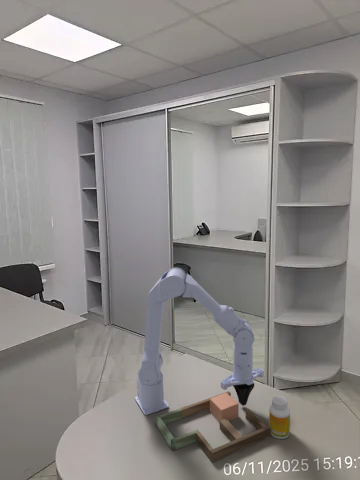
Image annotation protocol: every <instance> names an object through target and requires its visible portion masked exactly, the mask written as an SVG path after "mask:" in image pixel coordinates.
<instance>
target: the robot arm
mask: <svg viewBox="0 0 360 480" xmlns="http://www.w3.org/2000/svg"><path fill="white" fill-rule="evenodd" d="M181 295H182V298H193V299H194V300H195V301H197V302H198V303H199V304H200V305H201V306H203V307H204V308H205V309H207V311H208V312H209V313H211V314H212V320H213V322H215V323H216V324H217V325H218V326H219V327H220V328H221V329H223V330H224V332H226V333H227V334H228V335H230V336H232V337H233V339H232V340H233V347H232V351H233V353H232V358H233V359H232V373H231V374H230V375H228V376H226V378H225V379H222V380H220V388H221V389H222V390H224V391H227V390H228V388H230V387H233V388H234V390H235V393H236V395H237V398H238V404H240V405H241V406H244V407H245V406H247V403H248V400H249V397H250V394H251V392H252V390H253V389H254V388H255V383H254V380H255V379H256V378H263V377H264V376H265V371H264V370H263V369H262V368H261V367H258V368H254V367H253V364H254V363H253V362H254V361H253V357H254V356H253V353H254V352H253V350H254V349H253V344H254V342H255V339H256V338H255V337H254V333H253V329H252V325H251V324H250V323H249V320H245V319H244V318H241V317H240V316H239V315H238V314H237V313H236V312H235V310H234V308H233V307H232V306H228V305H227V304H226V305H225V304H219V302H217V301H216V299H214V298H213V296H212V295H210V293H208V292H207V290H206V289H204V288H203V287H202V286H201V284H199V283H198V282H197V281H196V280H195V279H194V278H193V277H192V276H191V275H190V274H188V273H186V271H184V269H182V268H181V267H172V268H170V269H168V270H167V271H165V272H164V273H163V274H162V275H161V277H160V278H159V279H158V280H157V281H156V283H155V284H154V286H153V287H152V288H151V289H150V290H149V292H148V294H147V304H146V317H145V335H144V346H143V347H144V349H143V354H142V360H141V365H140V368H139V369H138V373H137V378H136V390H137V396H135V397H134V400H135V401H136V403H137V405H138V406H139V408H140V409H141V412H142V413H143V414H144V416H148V415H150V414H153V413H156V412H159V411H162V410H165V409H167V408H169V407H170V405H169V404H168V402H167V400H166V399H165V397H164V395H165V394H164V393H165V392H164V375H163V373H162V371H161V368H162V366H163V363H164V362H163V361H164V359H163V357H162V355H161V352H162V349H161V340H162V338H161V337H162V326H163V312H164V303H165V302H166V301H168V300H171V299H173V298H177V297H180V296H181Z"/></svg>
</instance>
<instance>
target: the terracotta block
mask: <svg viewBox="0 0 360 480" xmlns="http://www.w3.org/2000/svg"><path fill="white" fill-rule="evenodd" d="M223 393H224V394H223ZM223 393H221V395H220V394H218V395H219V396H217V395H215V396H216V397H214V396H212V397H213V398H211V397H210V398H211V399H210V408H209V412H210V413H211V414H212V415H213V417H214V418H215V419H216V420H217V421H218V422H219V423H220V420H222V419H225V418H226V419H227V420H228V421H229V422H230V421H232V420H234V419H237V418H238V417H239V401H237V400H235V399H234V398H233V397H232V395H231V396H230V395H229V394H227V393H225V392H223Z"/></svg>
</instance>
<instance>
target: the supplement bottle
mask: <svg viewBox="0 0 360 480" xmlns="http://www.w3.org/2000/svg"><path fill="white" fill-rule="evenodd" d="M268 418H269V419H268V428H269V435H271V436H272V437H274V438H276V439H279V440H280V439H281V440H283V439H286V438H288V437H289V436H290V430H291V429H290V426H291V425H290V423H291V421H290V420H291V409H290V408H289V406H288V400H287V398H286V397H284V396H282V395H276V396H273V397H272V398H271V405H270V406H269V417H268Z"/></svg>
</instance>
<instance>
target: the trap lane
mask: <svg viewBox="0 0 360 480" xmlns="http://www.w3.org/2000/svg"><path fill="white" fill-rule="evenodd" d="M224 393H227V394H229V395H230V396H231V397H232V393H231V391H226V392H223V393H221V394H224ZM221 394H218V395H214V396H211V397H208V398H206V399H203V400H201V401H196V402H195V403H191V404H189V405H186V406H183V407H181V408H178V409H175V410H171V411H169V412H166V413H163V414H161V415H158V416H155V425H156V427H157V428H158V430H159V431H160V433H161V434H162V436H163V438H164V440H165V441H166V442H167V444H168V446H169V447H170V449H171V451H175V450H178V449H181V448H183V447H185V446H189V444H193V443H195V442H196V443H197V444H198V445H199V447H200V448H201V450H202V451H203V452H204V454H205V455H206V456H207V458H208V459H209V460H210V461H211V463H214V462H216V461H218V460H221V459H223V458H225V457H227V456H230V455H231V454H234V453H236V452H238V451H241V450H243V449H246V448H247V447H250V446H252V445H254V444H256V443H258V442H261V441H263V440H265V439H267V438H269V437H270V432H269V426H267V425H266V424H265V423H264V422H263V421H262V420H261V419H260V418H258V417H257V416H256V415H255V414H254V413H253V411H251V410H250V409H246V410H245V419H246V421H248V422H249V423H250V424H251V425H252V426H253V427H254V428H255V429H256V430H255V431H252V432H250V433H248V434H245V435H242V434H241V433H240V432H239V431H238V430H237V429H236V428H235V427H234V426H233V425H232V423H230V420H229V421H228V420H227V419H226V418H225V419H222V420H220V422H219V430H220V431H221V432H222V433H223V434H224V435H225V436H226V438H227V439H228V440H229V441H228V442H226V443H224V444H222V445H220V446H217V447H215V448H213V446H212V445H211V444H210V443H209V442H208V440H207V439H206V438H205V437H204V435H203V434H202V432H201V431H200V430H199V429H194V430H192V431H189V432H187V433H185V434H184V433H183V434H181V435H179V436H176V437H174V436H173V434H172V433H171V431H170V430H169V429H168V427H167V424H170V423H171V422H175V421H177V420H180V419H183V418H186V417H189V416H191V415H193V414H197V413H199V412H200V413H201V412H202V411H204V410H208V409H210V399H211V398H213V397H216V396H219V395H221Z"/></svg>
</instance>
